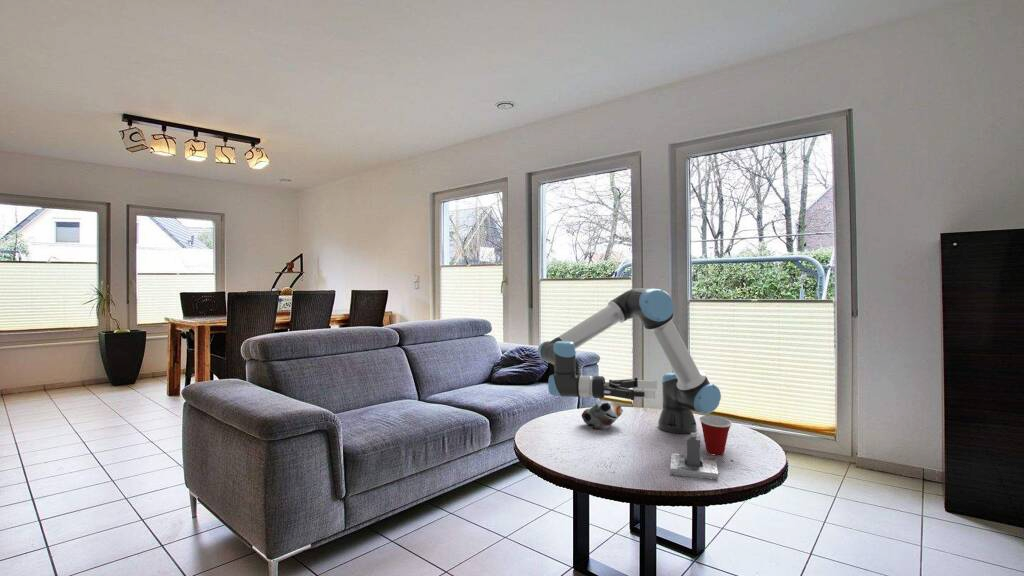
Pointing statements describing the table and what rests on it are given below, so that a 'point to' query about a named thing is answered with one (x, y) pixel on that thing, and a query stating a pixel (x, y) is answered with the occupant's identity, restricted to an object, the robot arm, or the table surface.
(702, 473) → the socket
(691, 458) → the plug
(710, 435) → the plastic cup
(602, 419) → the lucky cat figurine
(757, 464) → the table surface
